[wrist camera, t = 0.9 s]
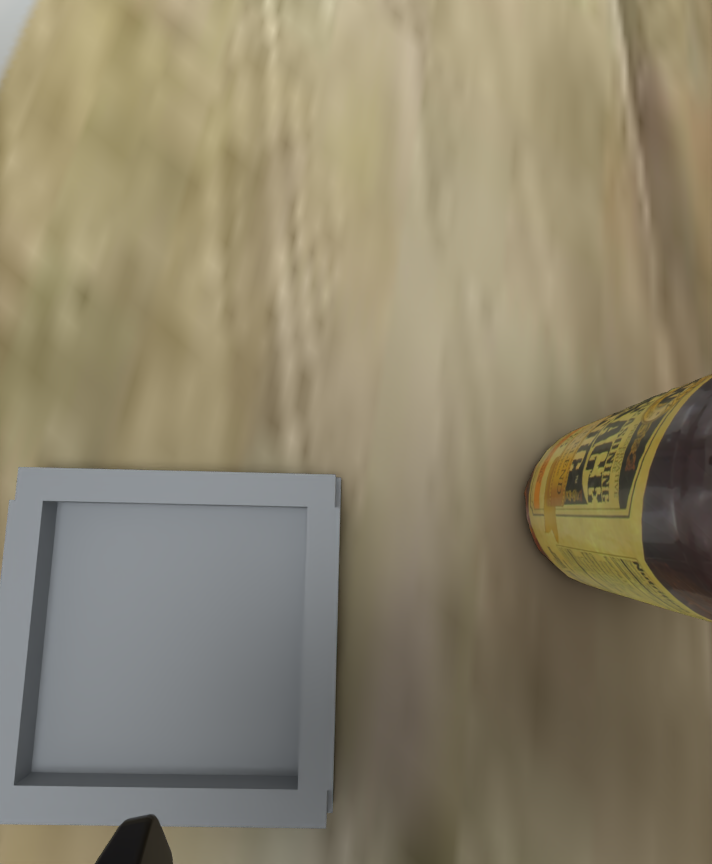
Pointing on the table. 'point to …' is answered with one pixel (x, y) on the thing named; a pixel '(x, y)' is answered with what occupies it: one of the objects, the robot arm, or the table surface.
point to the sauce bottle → (633, 501)
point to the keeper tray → (169, 648)
